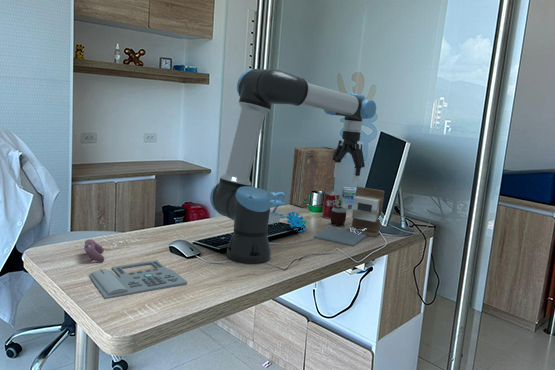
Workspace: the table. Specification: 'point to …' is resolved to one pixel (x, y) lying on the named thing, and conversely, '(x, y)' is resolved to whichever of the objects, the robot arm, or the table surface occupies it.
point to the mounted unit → (367, 210)
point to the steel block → (273, 218)
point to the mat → (340, 236)
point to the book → (311, 173)
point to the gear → (296, 221)
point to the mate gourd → (338, 214)
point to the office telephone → (135, 279)
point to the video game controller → (94, 250)
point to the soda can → (329, 204)
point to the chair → (277, 201)
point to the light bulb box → (348, 197)
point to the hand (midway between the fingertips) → (345, 180)
